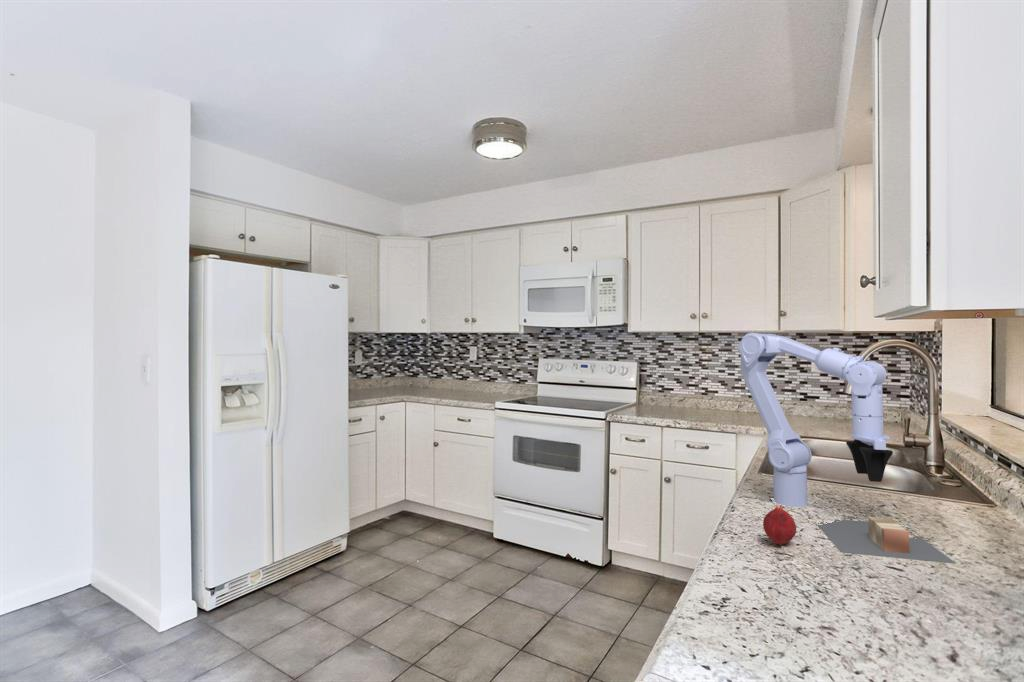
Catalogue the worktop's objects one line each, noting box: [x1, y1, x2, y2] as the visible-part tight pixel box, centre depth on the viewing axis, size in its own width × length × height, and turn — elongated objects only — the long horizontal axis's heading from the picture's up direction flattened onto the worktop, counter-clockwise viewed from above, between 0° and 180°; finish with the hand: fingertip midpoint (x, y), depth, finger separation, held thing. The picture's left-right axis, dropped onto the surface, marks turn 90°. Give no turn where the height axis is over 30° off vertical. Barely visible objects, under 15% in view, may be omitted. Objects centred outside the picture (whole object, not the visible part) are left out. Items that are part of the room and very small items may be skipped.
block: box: [867, 516, 909, 553], centre depth 100 cm, size 4×4×8 cm
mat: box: [817, 518, 957, 565], centre depth 104 cm, size 22×18×1 cm
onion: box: [762, 504, 797, 546], centre depth 101 cm, size 6×6×8 cm
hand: (868, 477), depth 114 cm, fingers open, 7 cm apart
